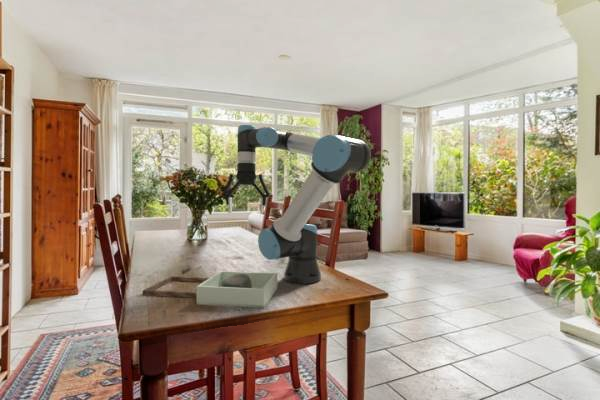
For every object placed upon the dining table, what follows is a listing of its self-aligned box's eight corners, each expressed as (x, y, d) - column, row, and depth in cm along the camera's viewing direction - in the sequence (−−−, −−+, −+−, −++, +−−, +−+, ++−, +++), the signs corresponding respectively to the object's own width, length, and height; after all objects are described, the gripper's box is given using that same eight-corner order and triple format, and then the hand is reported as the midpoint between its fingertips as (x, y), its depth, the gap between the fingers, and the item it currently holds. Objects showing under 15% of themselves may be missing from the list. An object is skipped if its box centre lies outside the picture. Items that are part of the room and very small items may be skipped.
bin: (277, 288, 128) (277, 273, 127) (264, 308, 107) (264, 289, 107) (220, 286, 131) (220, 270, 130) (196, 304, 110) (196, 286, 110)
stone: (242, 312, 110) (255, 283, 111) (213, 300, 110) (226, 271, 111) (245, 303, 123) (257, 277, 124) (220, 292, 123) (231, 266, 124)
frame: (224, 282, 136) (224, 278, 136) (203, 298, 116) (203, 293, 116) (171, 279, 139) (171, 276, 139) (142, 294, 119) (142, 290, 119)
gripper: (277, 163, 147) (276, 213, 148) (220, 163, 149) (219, 211, 150) (274, 162, 140) (273, 214, 141) (214, 161, 142) (214, 213, 143)
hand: (246, 213), depth 145 cm, fingers open, 13 cm apart
